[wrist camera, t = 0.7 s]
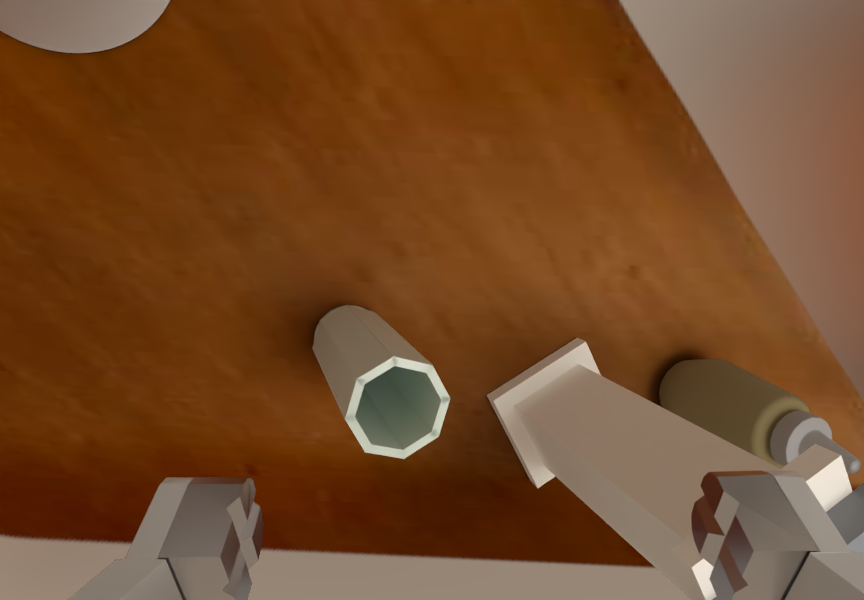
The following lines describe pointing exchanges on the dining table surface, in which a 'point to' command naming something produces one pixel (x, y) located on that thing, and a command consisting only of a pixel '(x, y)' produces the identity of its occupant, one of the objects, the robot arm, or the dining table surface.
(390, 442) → the jar
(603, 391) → the stand
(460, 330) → the dining table surface
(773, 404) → the squeeze bottle
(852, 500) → the cover
